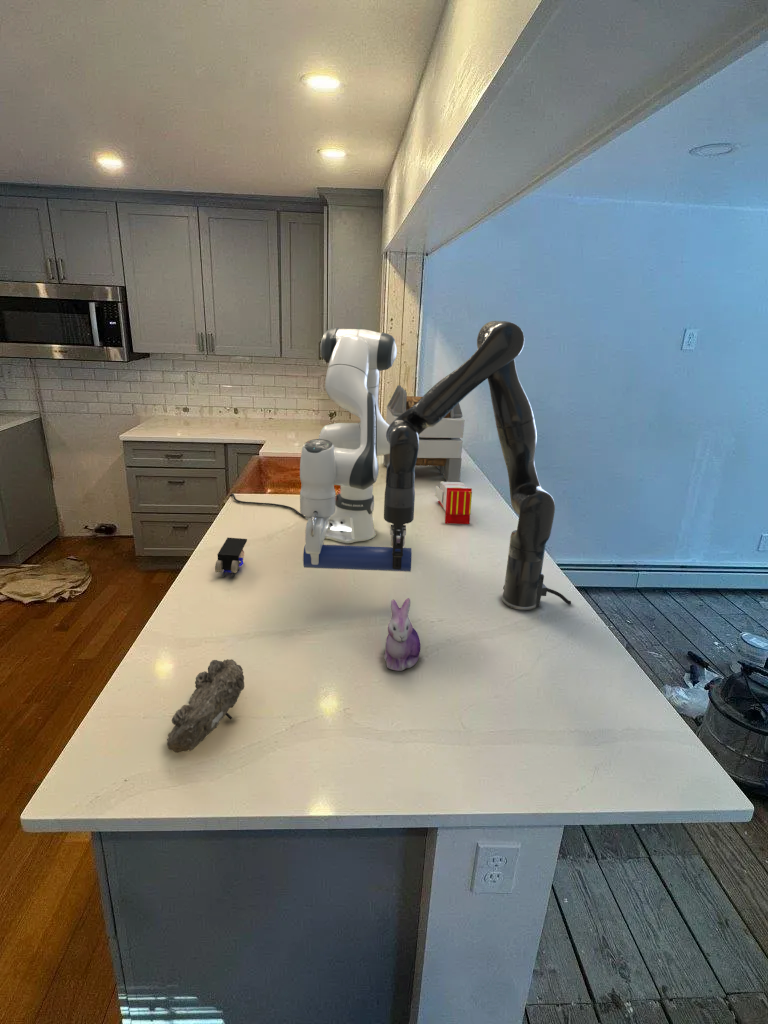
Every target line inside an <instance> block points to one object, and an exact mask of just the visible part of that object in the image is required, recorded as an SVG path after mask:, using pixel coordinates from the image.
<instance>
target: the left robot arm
mask: <svg viewBox="0 0 768 1024" xmlns="http://www.w3.org/2000/svg"><path fill="white" fill-rule="evenodd" d="M320 340H321V341H320V353H321V358H322V359H323V360H324V362H325V363H326V364H328V366H327V371H326V374H325V382H324V390H325V392H326V394H327V396H328V397H329V399H330V400H331V401H332V402H333V403H334V404H335V405H337V406H338V407H339V408H341V409H343V410H346V411H347V412H349V413H350V414H351V415H354V416H356V417H358V418H359V420H360V421H359V422H335V423H330V424H326V425H323V427H322V428H321V430H320V432H319V435H318V438H314V439H310V440H308V441H305V442H304V444H302V447H301V451H300V452H301V454H300V461H299V480H300V483H301V486H300V490H299V510H297V509H296V508H294V507H292V506H288V505H284V504H279V503H270V502H257V501H244V500H239V499H237V498H236V496H235V493H233V492H232V493H230V495H229V497H232V498H233V500H234V501H235V502H236V503H240V504H249V505H261V506H275V507H282V508H286V509H289V510H292V511H293V512H294V513H296V514H297V515H299V516H301V518H303V519H305V520H306V521H307V522H306V524H305V538H304V546H305V551H306V553H307V554H310V555H311V563H312V564H313V565H318V563H319V554H320V552H321V548H322V545H325V544H324V542H325V539H326V540H330V541H336V542H339V543H343V544H352V543H357V542H365V541H368V540H372V539H373V538H375V537H376V535H377V532H376V528H375V523H374V513H373V512H374V509H375V496H374V484H375V483H376V482H377V479H378V477H379V462H378V461H379V459H378V457H380V456H384V455H386V454H390V444H389V443H388V441H387V438H386V432H387V429H388V427H389V426H390V425H389V424H388V423H387V422H386V419H384V417H383V416H382V414H381V411H380V406H379V391H380V372H382V371H386V370H389V369H390V368H391V367H393V366H394V365H393V364H394V362H395V361H396V358H397V354H398V349H397V344H396V339H395V338H394V336H393V335H391V334H389V333H387V332H378V331H374V330H369V329H363V328H359V329H358V328H357V329H356V328H339V327H332V328H328V329H327V330H326V331H324V333H323V335H322V338H321V339H320ZM335 486H340V488H339V489H340V490H339V491H338V492H337V493H336V489H335Z"/></svg>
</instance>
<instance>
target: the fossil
mask: <svg viewBox="0 0 768 1024" xmlns="http://www.w3.org/2000/svg"><path fill="white" fill-rule="evenodd" d="M243 670H244V669H243V667H242V665H240V664H237V662H236V661H235V660H234V659H232V658H231V659H227V658H226V659H224V660H223V661H222V660H217V659H212V660H211V661H210V663H209V665H208V666H207V671H201V672H199V673H198V674H197V675H196V676H195V680H194V684H195V685H194V687H195V689H194V690H193V693H192V694H191V697H190V698H189V700H188V704H184V705H182V706H181V707H180V709H177V710H176V711H175V713H174V715H173V716H172V718H171V723H172V724H173V727H172V730H171V731H170V732H168V734H167V738H166V741H167V742H166V745H167V749H168V750H169V751H173V752H174V753H176V754H178V753H182V752H188V751H189V752H192V751H193V750H195V748H196V747H197V746H199V744H200V743H201V742H203V741H204V740H205V739H206V738H207V737H208V736H209V735H210V734H211V733H212V732H214V730H215V729H217V727H218V726H219V724H220V722H221V721H222V720H223V719H224V718H225V716H226V717H227V719H229V720H233V717H232V715H230V714H229V710H230V709H231V708H234V706H235V704H236V703H237V702H238V699H239V697H240V695H241V693H242V691H243V690H245V689H244V688H245V675H244V671H243Z"/></svg>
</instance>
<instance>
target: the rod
mask: <svg viewBox="0 0 768 1024" xmlns="http://www.w3.org/2000/svg"><path fill="white" fill-rule="evenodd" d="M395 551H401V549H395ZM412 552H413V551H412V547H403V556H402V562H401V569H400V570H398V569H393V555H392V553H393V547H392V546H371V545H346V544H345V545H344V544H343V545H342V544H341V545H340V544H324V545H322V548H321V552H320V554H319V563H318V565H313V564H312V563H311V555H310V554H307V553H306V551H305V545H304V547H303V552H302V553H303V554H302V563H303V567H304V568H303V569H327V570H330V569H331V570H357V571H377V572H378V571H379V572H405V573H407V572H408V573H411V572H412V560H413V559H412V557H413V555H412Z"/></svg>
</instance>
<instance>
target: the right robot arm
mask: <svg viewBox="0 0 768 1024" xmlns="http://www.w3.org/2000/svg"><path fill="white" fill-rule="evenodd" d="M476 346H477V349H476V350H475V352H473V354H472V355H471V356H470V357H469V358H468V359H467V360H466V361H465V362H463V364H461V365H460V366H459V367H457V368H456V369H455V370H453V371H452V372H450V373H449V374H447V375H446V376H445V377H443V378H442V379H440V380H439V381H438V382H437V383H435V384H434V385H433V386H432V387H430V389H428V391H427V392H426V393H425V394H424V395H422V396H421V397H422V398H421V399H420V400H419V401H418V402H417V403H416V404H415V405H414V406H413V407H411V408H410V409H408V410H407V411H405V412H404V413H403V414H401V415H400V416H399V417H397V418H396V419H395V420H394V421H393V422H392V423H391V424H390V426H389V427H388V429H387V432H386V438H387V441H388V443H389V444H390V458H389V463H388V465H387V466H386V473H385V488H384V489H385V490H384V500H383V501H384V502H383V503H384V504H383V520H384V521H386V522H387V523H389V524H390V530H389V531H390V547H393V553H392V555H393V569H398V570H400V569H401V562H402V556H403V548H405V545H406V544H405V543H406V535H407V524H410V523H412V522H413V521H414V518H415V501H416V499H415V497H416V492H415V482H416V481H415V480H416V466H415V465H416V460H417V455H418V449H419V436H418V435H419V434H420V433H421V432H423V431H424V430H425V429H426V428H428V427H433V426H435V425H436V424H437V423H438V422H439V421H440V420H442V419H443V418H444V417H445V416H446V415H447V414H448V413H449V412H450V411H451V410H452V409H453V408H454V407H455V406H456V405H457V404H458V403H459V404H460V403H461V401H463V400H464V399H465V398H466V397H467V396H468V395H469V394H470V393H471V392H473V391H474V390H475V389H476V388H477V387H478V386H480V385H481V384H482V383H484V381H486V380H487V382H488V387H489V393H490V399H491V405H492V410H493V415H494V420H495V426H496V431H497V436H498V440H499V443H500V447H501V452H502V456H503V460H504V463H505V466H506V470H507V477H508V484H509V485H508V486H509V497H510V504H511V507H512V509H513V511H514V513H516V514H517V515H518V521H517V527H516V529H515V530H513V531H511V534H510V539H509V546H508V553H507V562H506V569H505V578H504V584H503V587H502V590H503V592H502V597H501V600H502V603H503V604H504V605H505V606H507V607H508V608H511V609H514V610H518V611H531V610H534V609H535V608H540V606H541V599H542V597H546V596H547V593H550V594H553V595H555V596H557V597H559V598H560V599H561V600H562V601H563V602H564V603H566V604H567V605H571V604H572V601H571V600H569V599H568V598H567V597H566V596H564V595H563V593H561V592H558V591H557V590H554V589H552V588H549V587H547V585H545V583H544V580H545V575H544V573H543V565H544V558H545V552H546V547H547V546H546V545H547V542H548V541H549V539H550V537H551V534H552V528H553V523H554V518H555V512H556V502H555V500H554V497H553V496H552V495H551V494H550V492H548V491H546V490H545V489H544V488H543V487H542V486H541V483H540V480H539V477H538V473H537V469H536V463H535V462H536V461H535V460H536V459H535V458H536V450H537V444H538V435H537V434H538V433H537V432H538V431H537V427H536V421H535V416H534V412H533V408H532V405H531V403H530V400H529V398H528V396H527V394H526V392H525V390H524V387H523V386H522V383H521V381H520V378H519V376H518V370H517V367H516V360H515V359H516V358H517V357H519V356H520V354H521V353H522V351H523V349H524V346H525V334H524V331H523V330H522V327H520V326H519V325H518V324H516V323H514V322H511V321H507V320H491V321H488V322H486V323H485V324H484V325H482V327H481V328H480V329H479V331H478V334H477V337H476ZM395 549H401V551H395Z"/></svg>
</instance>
